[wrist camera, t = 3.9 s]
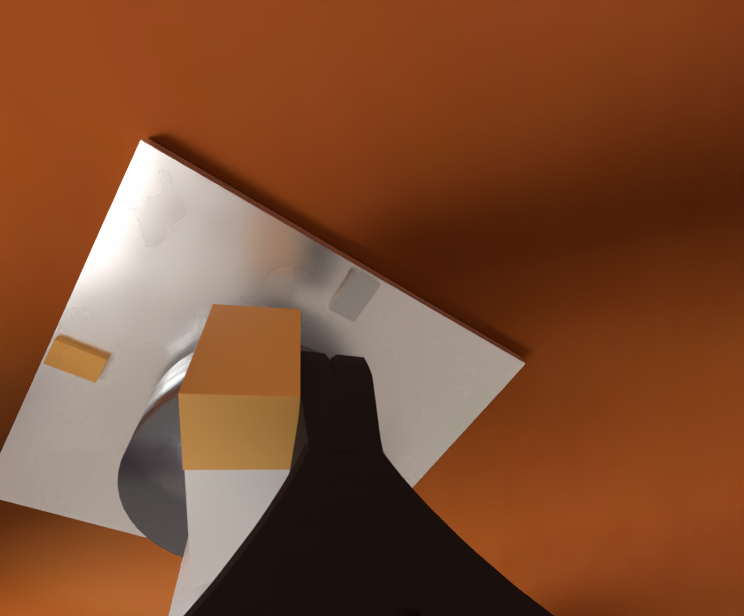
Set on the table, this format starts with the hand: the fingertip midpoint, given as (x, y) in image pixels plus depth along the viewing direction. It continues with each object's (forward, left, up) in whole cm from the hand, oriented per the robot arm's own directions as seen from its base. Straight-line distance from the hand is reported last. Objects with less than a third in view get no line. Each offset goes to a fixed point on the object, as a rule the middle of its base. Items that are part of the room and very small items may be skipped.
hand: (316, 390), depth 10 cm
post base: (-5, -1, -4) cm, 6 cm away
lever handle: (-3, 0, -1) cm, 3 cm away
